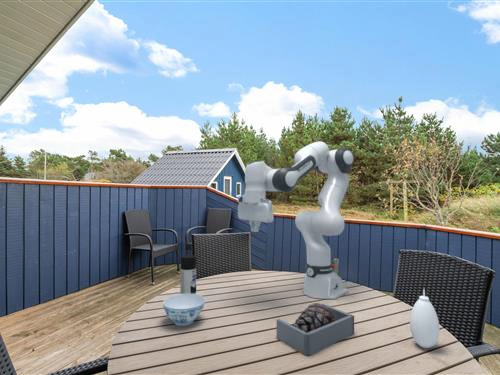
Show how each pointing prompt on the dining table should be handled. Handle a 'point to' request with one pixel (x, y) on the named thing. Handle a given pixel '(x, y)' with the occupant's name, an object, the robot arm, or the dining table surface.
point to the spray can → (188, 274)
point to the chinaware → (183, 308)
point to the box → (316, 333)
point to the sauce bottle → (424, 322)
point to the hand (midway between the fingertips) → (254, 231)
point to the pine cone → (314, 317)
